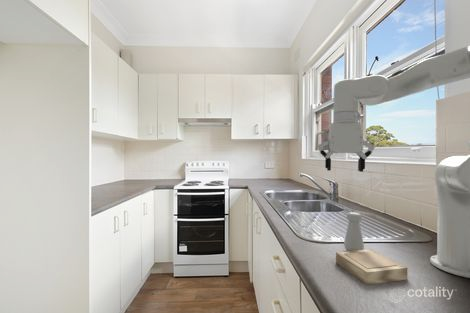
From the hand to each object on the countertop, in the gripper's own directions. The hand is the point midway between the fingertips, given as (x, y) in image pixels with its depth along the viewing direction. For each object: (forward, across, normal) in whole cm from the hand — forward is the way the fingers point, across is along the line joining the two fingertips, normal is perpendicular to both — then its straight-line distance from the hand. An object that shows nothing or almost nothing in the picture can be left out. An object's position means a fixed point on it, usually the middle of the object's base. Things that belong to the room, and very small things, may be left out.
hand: (344, 170), depth 77 cm
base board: (+26, -4, +12) cm, 29 cm away
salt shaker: (+27, -3, 0) cm, 27 cm away
